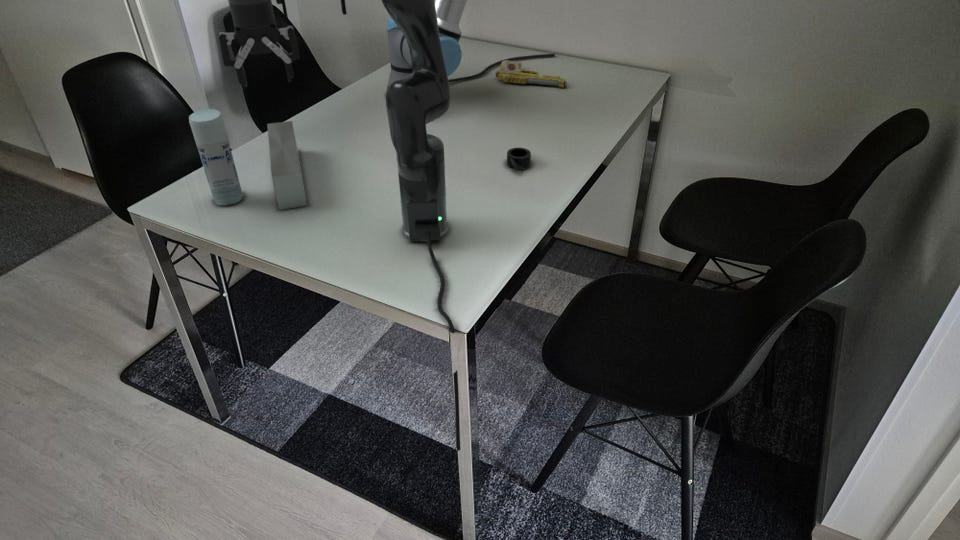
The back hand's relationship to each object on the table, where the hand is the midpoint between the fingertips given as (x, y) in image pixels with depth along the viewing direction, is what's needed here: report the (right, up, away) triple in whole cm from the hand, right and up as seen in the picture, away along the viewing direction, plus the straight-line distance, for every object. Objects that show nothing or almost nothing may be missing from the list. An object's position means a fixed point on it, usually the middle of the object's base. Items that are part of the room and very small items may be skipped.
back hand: (315, 15), depth 149 cm
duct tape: (+49, -34, +6) cm, 60 cm away
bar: (-6, -39, 0) cm, 39 cm away
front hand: (-3, -23, -24) cm, 33 cm away
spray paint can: (-18, -44, -7) cm, 48 cm away
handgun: (+56, +1, +51) cm, 76 cm away
